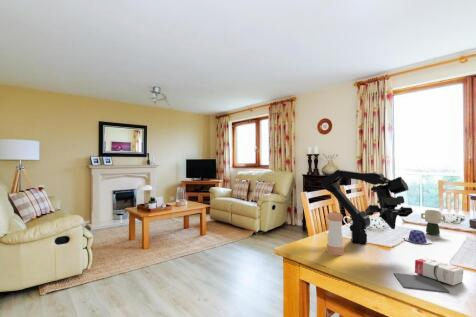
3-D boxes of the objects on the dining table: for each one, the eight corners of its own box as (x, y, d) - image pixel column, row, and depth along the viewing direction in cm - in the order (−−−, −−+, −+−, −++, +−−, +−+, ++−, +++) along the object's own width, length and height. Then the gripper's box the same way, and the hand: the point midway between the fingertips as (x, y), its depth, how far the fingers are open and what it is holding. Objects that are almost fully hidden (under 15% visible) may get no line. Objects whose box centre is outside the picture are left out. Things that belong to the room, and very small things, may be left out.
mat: (403, 287, 86) (403, 286, 86) (393, 273, 96) (393, 272, 96) (449, 292, 83) (449, 291, 83) (434, 277, 93) (434, 276, 93)
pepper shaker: (331, 248, 123) (331, 208, 123) (346, 252, 118) (346, 210, 118) (324, 252, 118) (323, 211, 118) (339, 256, 113) (339, 213, 113)
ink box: (414, 273, 95) (453, 286, 85) (414, 259, 95) (454, 271, 85) (424, 269, 100) (463, 282, 90) (425, 256, 100) (464, 267, 90)
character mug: (445, 234, 144) (445, 211, 144) (444, 237, 138) (444, 213, 138) (421, 230, 151) (421, 208, 151) (420, 233, 146) (420, 210, 145)
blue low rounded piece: (402, 236, 142) (402, 226, 142) (429, 239, 136) (429, 229, 136) (405, 242, 131) (405, 232, 131) (434, 246, 126) (434, 235, 126)
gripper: (370, 188, 116) (379, 221, 107) (413, 189, 115) (425, 223, 106) (361, 199, 125) (369, 230, 116) (401, 200, 124) (411, 232, 115)
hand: (393, 229), depth 113 cm, fingers closed
